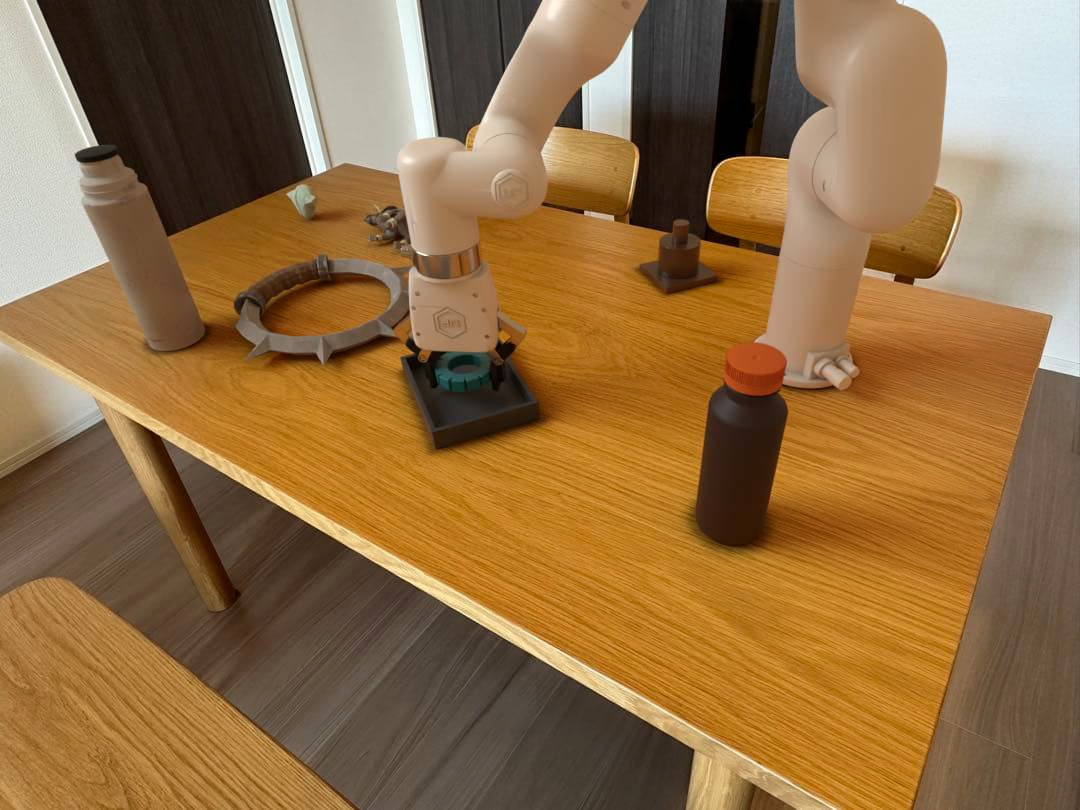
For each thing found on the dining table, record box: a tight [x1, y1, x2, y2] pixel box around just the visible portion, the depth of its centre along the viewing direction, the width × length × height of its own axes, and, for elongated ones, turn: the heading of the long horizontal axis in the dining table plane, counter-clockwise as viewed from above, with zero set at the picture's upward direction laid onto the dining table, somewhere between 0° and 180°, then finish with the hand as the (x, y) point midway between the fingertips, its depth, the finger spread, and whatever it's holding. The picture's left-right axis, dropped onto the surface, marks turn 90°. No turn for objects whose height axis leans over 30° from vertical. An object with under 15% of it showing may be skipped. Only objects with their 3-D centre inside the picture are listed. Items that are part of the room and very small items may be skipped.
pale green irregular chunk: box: [286, 183, 318, 220], centre depth 136 cm, size 8×4×7 cm, turn 52°
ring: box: [434, 352, 492, 392], centre depth 87 cm, size 7×7×2 cm
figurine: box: [362, 203, 411, 250], centre depth 129 cm, size 20×6×17 cm
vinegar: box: [694, 341, 789, 546], centre depth 64 cm, size 7×7×20 cm
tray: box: [399, 351, 541, 450], centre depth 89 cm, size 17×13×3 cm
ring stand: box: [639, 218, 718, 295], centre depth 109 cm, size 9×9×9 cm
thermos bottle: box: [74, 144, 206, 352], centre depth 96 cm, size 8×8×28 cm
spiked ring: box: [233, 253, 413, 367], centre depth 106 cm, size 33×4×30 cm
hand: (467, 382), depth 88 cm, fingers closed on ring, 7 cm apart
